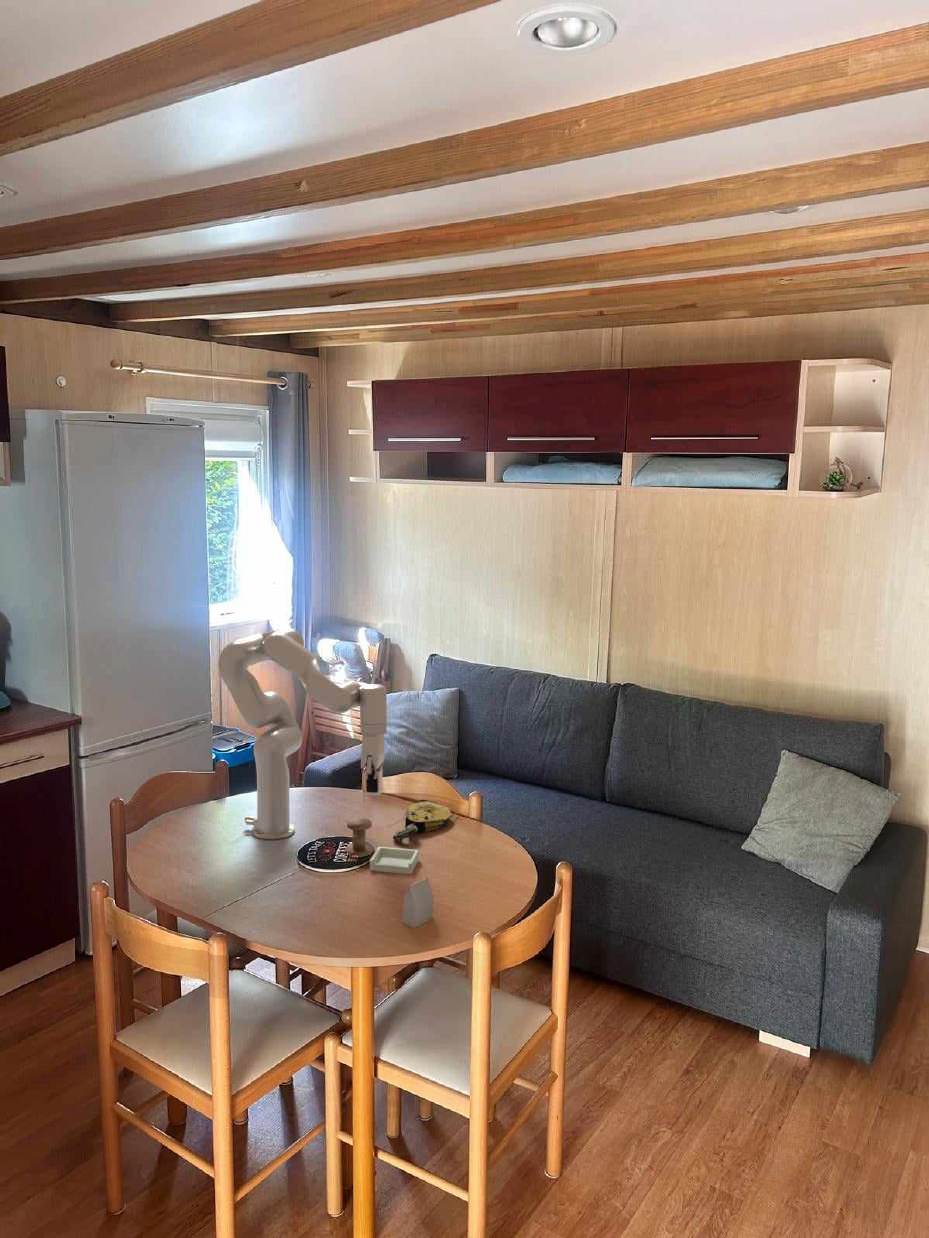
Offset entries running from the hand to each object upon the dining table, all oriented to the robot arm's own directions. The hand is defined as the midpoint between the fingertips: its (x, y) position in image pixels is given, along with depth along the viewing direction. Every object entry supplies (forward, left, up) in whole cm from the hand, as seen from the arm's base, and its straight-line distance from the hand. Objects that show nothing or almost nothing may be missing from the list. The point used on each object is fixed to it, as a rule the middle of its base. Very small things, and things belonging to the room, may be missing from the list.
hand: (374, 788), depth 272 cm
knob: (-3, -4, -18) cm, 19 cm away
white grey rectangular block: (0, 0, -1) cm, 1 cm away
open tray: (+9, -11, -18) cm, 23 cm away
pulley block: (+10, +18, -18) cm, 28 cm away
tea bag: (+22, -41, -18) cm, 50 cm away
